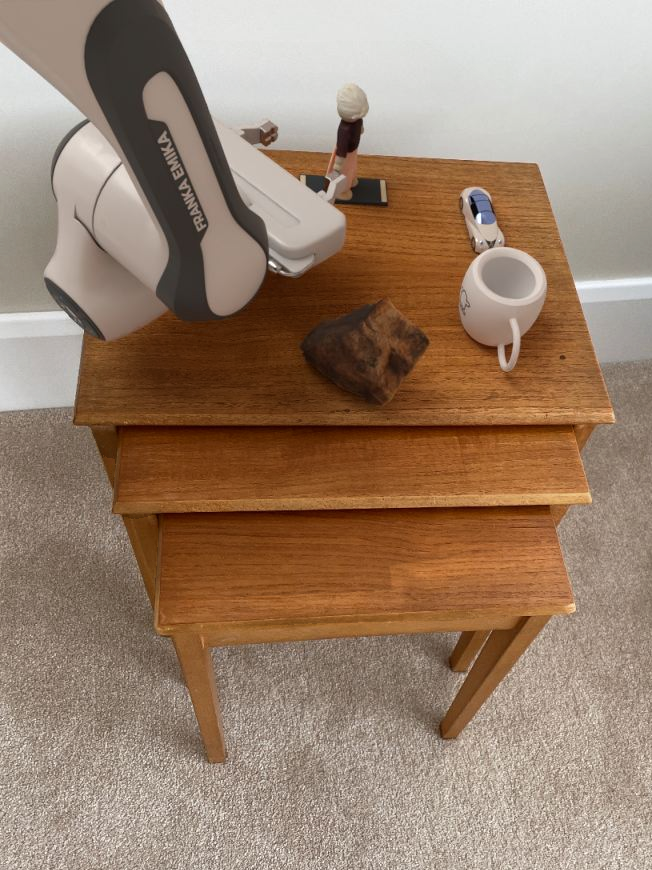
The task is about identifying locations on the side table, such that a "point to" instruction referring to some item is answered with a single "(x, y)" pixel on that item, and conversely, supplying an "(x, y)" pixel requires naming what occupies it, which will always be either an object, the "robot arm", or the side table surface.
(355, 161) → the grandmother figurine
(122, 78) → the robot arm
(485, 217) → the toy car
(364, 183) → the black flat block
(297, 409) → the side table surface
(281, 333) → the side table surface
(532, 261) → the mug
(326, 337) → the decorative rock
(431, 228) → the side table surface
